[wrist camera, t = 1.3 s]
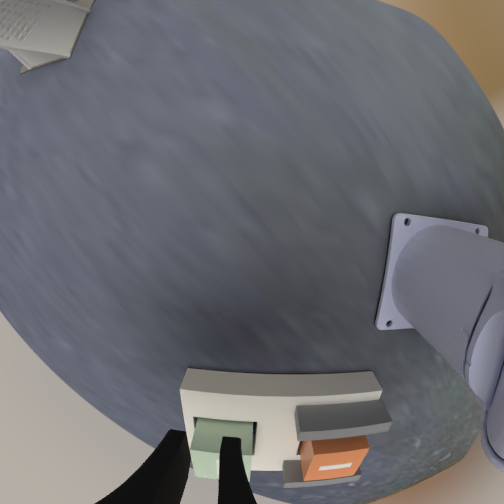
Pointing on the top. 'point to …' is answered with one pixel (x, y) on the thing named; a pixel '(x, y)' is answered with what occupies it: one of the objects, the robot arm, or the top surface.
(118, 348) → the top surface
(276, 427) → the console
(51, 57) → the skyscraper
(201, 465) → the on button
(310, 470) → the button
